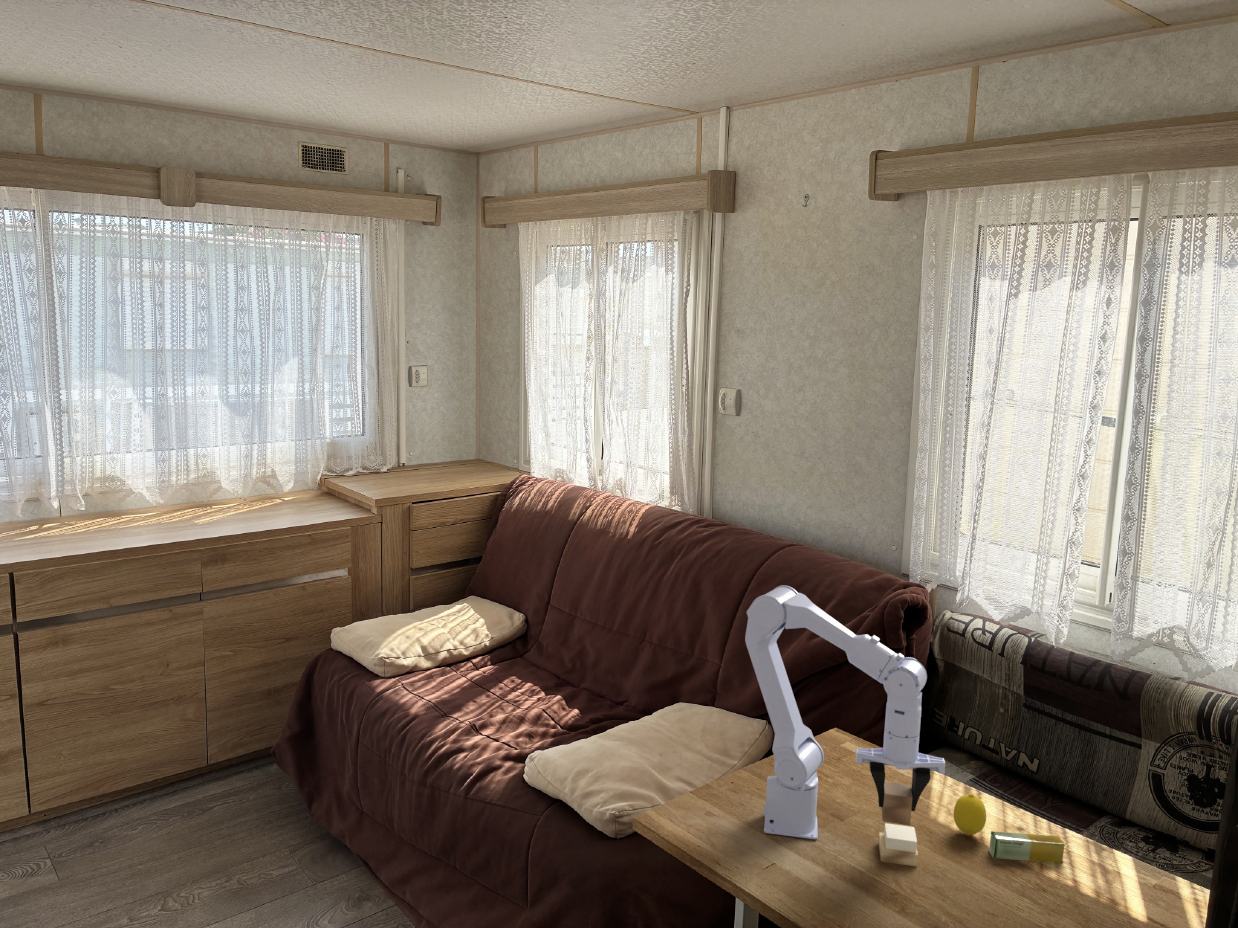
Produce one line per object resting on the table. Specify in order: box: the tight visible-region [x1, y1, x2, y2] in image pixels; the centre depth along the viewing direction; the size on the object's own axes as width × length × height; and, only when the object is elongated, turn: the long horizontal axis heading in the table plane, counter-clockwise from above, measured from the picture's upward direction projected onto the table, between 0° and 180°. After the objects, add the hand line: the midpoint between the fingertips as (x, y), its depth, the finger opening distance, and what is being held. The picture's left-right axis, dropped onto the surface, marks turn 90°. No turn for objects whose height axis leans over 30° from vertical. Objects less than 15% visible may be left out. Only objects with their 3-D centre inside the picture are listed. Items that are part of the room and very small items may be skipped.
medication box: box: [988, 830, 1066, 864], centre depth 162 cm, size 12×3×4 cm, turn 86°
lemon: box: [953, 793, 987, 837], centre depth 168 cm, size 6×6×8 cm
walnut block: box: [881, 781, 912, 826], centre depth 159 cm, size 4×4×5 cm
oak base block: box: [878, 831, 919, 867], centre depth 162 cm, size 6×6×2 cm
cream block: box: [883, 822, 918, 853], centre depth 161 cm, size 5×5×2 cm
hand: (896, 806), depth 159 cm, fingers closed on walnut block, 5 cm apart
